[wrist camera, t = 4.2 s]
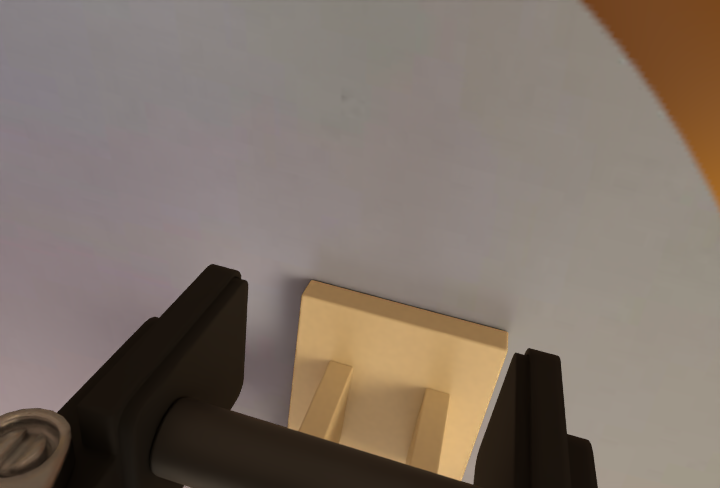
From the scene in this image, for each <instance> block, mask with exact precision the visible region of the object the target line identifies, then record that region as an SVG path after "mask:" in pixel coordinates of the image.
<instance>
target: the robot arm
mask: <svg viewBox="0 0 720 488" xmlns="http://www.w3.org/2000/svg"><path fill="white" fill-rule="evenodd" d="M247 301H248V282H247V281H246V280H242V279H241V274H240V272H239V271H237V270H233V269H229V268H226V267H222V266H218V265H214V264H211V265H209V266H208V267H207V268H206V269H205V270H204V271H203V272H202V273H201V274H200V275H199V276H198V277H197V278H196V280H195V281H194V282H193V283H192V284H191V285H190V286H189V287H188V288H187V289H186V290H185V291H184V292H183V293H182V294H181V295H180V296H179V298H178V299H177V300H176V301H175V302H174V303H173V304H172V305H171V306H170V307H169V308H168V309H167V310H166V311H165V312H164V313H163V314H162V316H161V317H160V318H158V317H153V318H150V319H148V320H147V321H146V322H145V323H144V324H143V325H142V326H141V327H140V328H139V329H138V330H137V331H136V332H135V333H134V334H133V335H132V336H131V337H130V338H129V339H128V340H127V341H126V342H125V343H124V344H123V345H122V346H121V347H120V348H119V349H118V350H117V351H116V352H115V353H114V355H113V356H112V357H111V358H110V359H109V360H108V361H107V362H106V363H105V364H104V365H103V366H102V367H101V368H100V369H99V370H98V371H97V372H96V373H95V374H94V375H93V376H92V377H91V378H90V379H89V380H88V381H87V382H86V383H85V384H84V385H83V386H82V387H81V389H80V390H79V391H78V392H77V393H76V394H75V395H74V396H73V397H72V398H71V399H70V400H69V401H68V402H67V403H66V404H65V405H64V406H63V407H62V408H61V409H60V410H59V411H58V412H57V413H56V412H54V411H51V410H46V409H41V408H32V409H21V410H17V411H13V412H9V413H6V414H4V415H1V416H0V488H183V486H184V485H182V484H179V483H176V482H173V481H170V480H167V479H164V478H161V477H158V476H156V475H155V474H154V473H153V472H152V471H151V469H150V454H151V449H152V445H153V441H154V438H155V435H156V433H157V430H158V428H159V426H160V424H161V422H162V420H163V418H164V416H165V415H166V413H167V412H168V410H169V409H170V407H171V406H172V405H173V404H174V403H175V402H176V401H177V400H179V399H180V398H185V397H189V398H192V399H195V400H199V401H202V402H205V403H208V404H212V405H215V406H218V407H221V408H225V409H228V410H231V408H232V406H233V405H234V403H235V402H236V400H237V398H238V396H239V394H240V392H241V389H242V385H243V380H244V361H245V341H246V321H247ZM474 485H475V486H479V487H482V488H598V486H597V479H596V471H595V464H594V456H593V450H592V446H591V443H590V442H589V440H586V439H583V438H579V437H576V436H572V435H569V434H567V430H566V419H565V407H564V395H563V384H562V372H561V361H560V357H559V356H556V355H553V354H549V353H545V352H541V351H538V350H534V349H530V348H529V349H527V351H526V353H525V355H522V354H519V353H515V354H514V355H513V358H512V361H511V363H510V366H509V369H508V372H507V374H506V377H505V380H504V383H503V385H502V388H501V391H500V394H499V396H498V399H497V402H496V405H495V407H494V410H493V413H492V416H491V418H490V421H489V424H488V427H487V429H486V432H485V435H484V438H483V440H482V443H481V446H480V449H479V452H478V456H477V460H476V466H475V475H474Z"/></svg>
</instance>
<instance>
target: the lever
mask: <svg viewBox="0 0 720 488" xmlns="http://www.w3.org/2000/svg"><path fill="white" fill-rule="evenodd" d="M150 469H151V471H152V472H153V473H154V474H155V475H156V476H158V477H161V478H164V479H167V480H170V481H173V482H176V483H179V484H182V485H185V486H188V487H191V488H482V487H479V486H475V485H472V484H469V483H466V482H462V481H459V480H456V479H453V478H449V477H446V476H443V475H440V474H436V473H433V472H430V471H427V470H423V469H420V468H417V467H414V466H410V465H407V464H404V463H400V462H397V461H394V460H391V459H387V458H384V457H381V456H378V455H374V454H371V453H368V452H365V451H361V450H358V449H355V448H352V447H348V446H345V445H342V444H339V443H335V442H332V441H329V440H326V439H322V438H319V437H316V436H313V435H309V434H306V433H303V432H300V431H296V430H293V429H290V428H287V427H283V426H280V425H277V424H273V423H270V422H267V421H264V420H260V419H257V418H254V417H251V416H247V415H244V414H241V413H238V412H234V411H231V410H228V409H225V408H221V407H218V406H215V405H212V404H208V403H205V402H202V401H199V400H195V399H192V398H189V397H185V398H180V399H179V400H177V401H176V402H175V403H174V404H173V405H172V406H171V407H170V409H169V410H168V412H167V413H166V415H165V416H164V418H163V420H162V422H161V424H160V426H159V428H158V430H157V433H156V435H155V438H154V441H153V445H152V449H151V454H150Z"/></svg>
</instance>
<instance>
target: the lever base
mask: <svg viewBox="0 0 720 488" xmlns="http://www.w3.org/2000/svg"><path fill="white" fill-rule="evenodd" d="M507 351H508V332H506V331H502V330H499V329H495V328H491V327H487V326H483V325H480V324H476V323H472V322H468V321H465V320H461V319H457V318H453V317H450V316H446V315H442V314H438V313H435V312H431V311H427V310H423V309H419V308H416V307H412V306H408V305H404V304H401V303H397V302H393V301H389V300H386V299H382V298H378V297H374V296H371V295H367V294H363V293H359V292H355V291H352V290H348V289H344V288H340V287H337V286H333V285H329V284H325V283H322V282H318V281H314V280H311V281H310V283H309V284H308V286H307V287H306V289H305V291H304V292H303V294H302V296H301V306H300V315H299V324H298V334H297V343H296V353H295V362H294V372H293V381H292V390H291V400H290V409H289V419H288V428H290V429H293V430H296V431H300V432H303V433H306V434H309V435H313V436H316V437H319V438H322V439H326V440H329V441H332V442H335V443H339V444H342V445H345V446H348V447H352V448H355V449H358V450H361V451H365V452H368V453H371V454H374V455H378V456H381V457H384V458H387V459H391V460H394V461H397V462H400V463H404V464H407V465H410V466H414V467H417V468H420V469H423V470H427V471H430V472H433V473H436V474H440V475H443V476H446V477H449V478H453V479H456V480H459V481H461V480H462V477H463V474H464V471H465V469H466V466H467V463H468V460H469V457H470V455H471V452H472V449H473V446H474V443H475V441H476V438H477V435H478V432H479V429H480V427H481V424H482V421H483V418H484V416H485V413H486V410H487V407H488V404H489V402H490V399H491V396H492V393H493V390H494V388H495V385H496V382H497V379H498V376H499V374H500V371H501V368H502V365H503V362H504V360H505V357H506V354H507Z"/></svg>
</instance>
